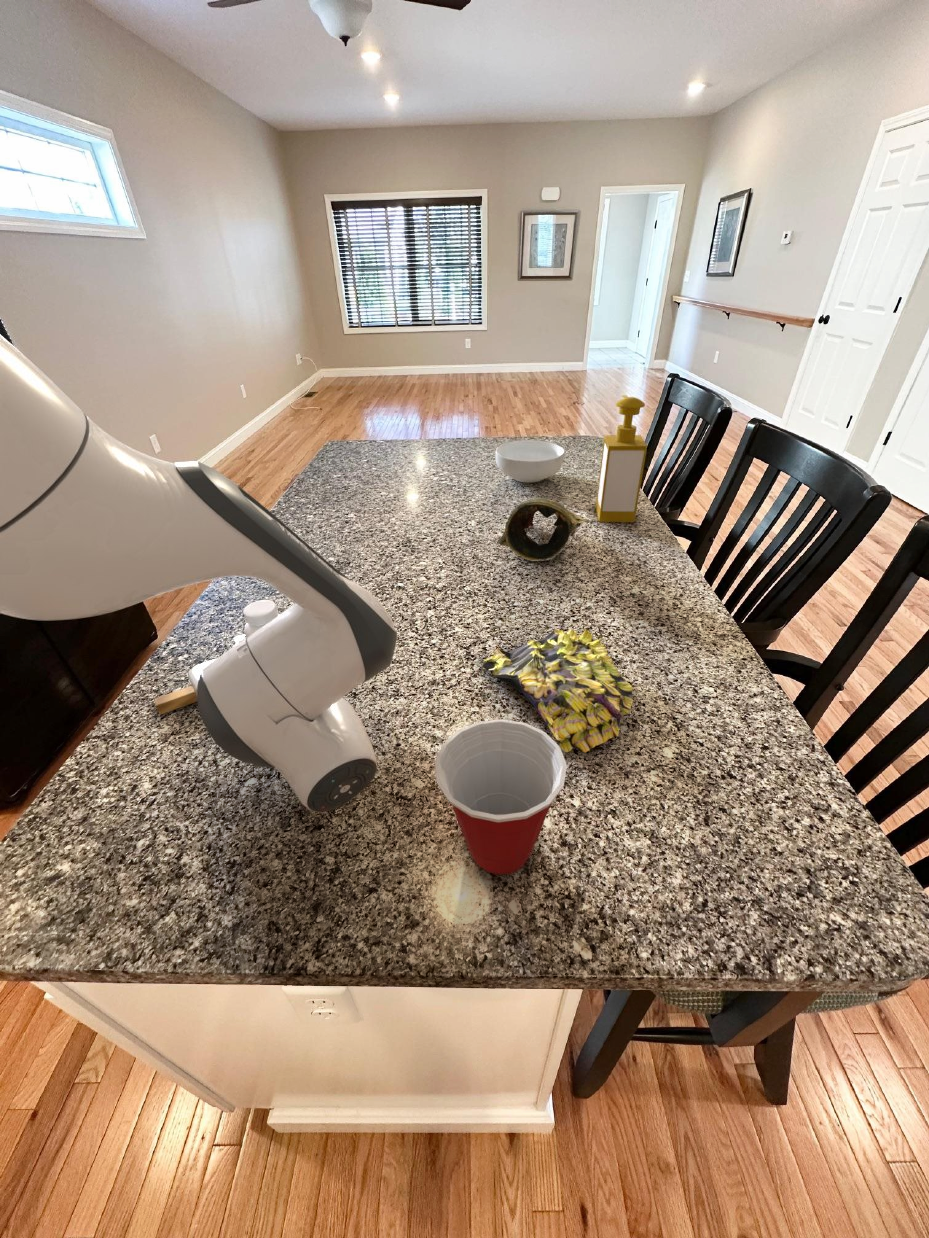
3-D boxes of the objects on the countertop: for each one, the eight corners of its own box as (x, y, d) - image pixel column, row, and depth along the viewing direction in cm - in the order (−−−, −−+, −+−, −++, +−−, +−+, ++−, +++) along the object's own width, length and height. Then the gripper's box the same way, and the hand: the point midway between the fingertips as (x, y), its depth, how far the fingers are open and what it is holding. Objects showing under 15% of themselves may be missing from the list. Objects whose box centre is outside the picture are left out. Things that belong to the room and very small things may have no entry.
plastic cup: (528, 783, 54) (533, 700, 47) (577, 878, 46) (592, 795, 39) (429, 812, 52) (419, 730, 45) (462, 919, 43) (456, 837, 36)
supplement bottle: (258, 659, 72) (238, 600, 67) (298, 651, 74) (281, 593, 68) (257, 683, 68) (236, 623, 63) (299, 674, 69) (282, 614, 64)
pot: (585, 482, 101) (580, 485, 84) (598, 538, 103) (595, 551, 87) (503, 505, 107) (482, 512, 90) (516, 558, 109) (499, 574, 92)
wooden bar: (160, 715, 64) (155, 705, 64) (158, 707, 66) (154, 698, 65) (242, 685, 69) (238, 676, 68) (239, 678, 70) (236, 669, 69)
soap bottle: (625, 499, 117) (642, 387, 103) (634, 522, 106) (654, 401, 93) (593, 498, 117) (605, 387, 104) (599, 521, 107) (614, 402, 94)
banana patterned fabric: (660, 740, 60) (662, 710, 55) (528, 789, 60) (518, 763, 55) (589, 623, 74) (585, 592, 69) (482, 663, 74) (471, 634, 69)
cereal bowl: (519, 494, 121) (520, 465, 117) (483, 474, 133) (482, 447, 129) (576, 480, 127) (579, 451, 123) (537, 462, 139) (538, 436, 135)
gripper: (376, 638, 61) (336, 588, 71) (192, 705, 53) (176, 638, 62) (383, 678, 65) (344, 625, 74) (211, 746, 56) (193, 677, 66)
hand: (266, 631), depth 68 cm, fingers closed on supplement bottle, 5 cm apart
